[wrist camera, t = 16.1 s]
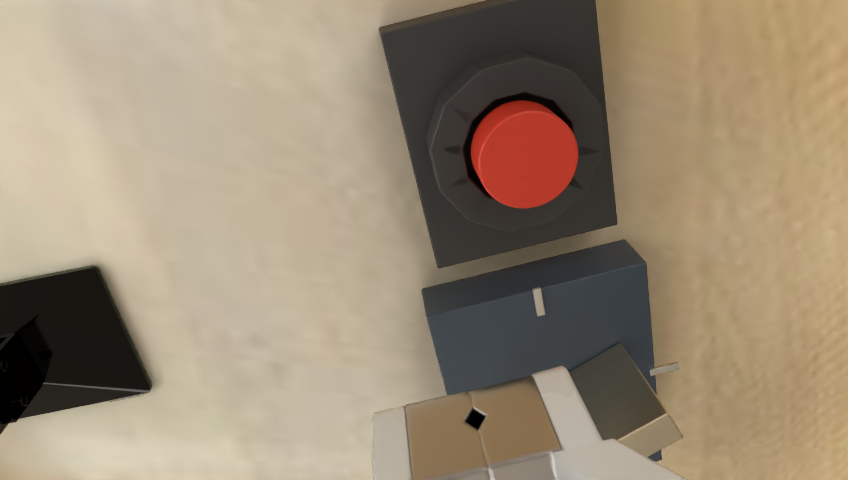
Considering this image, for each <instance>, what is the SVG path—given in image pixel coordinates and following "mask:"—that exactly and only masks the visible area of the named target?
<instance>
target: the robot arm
mask: <svg viewBox="0 0 848 480" xmlns="http://www.w3.org/2000/svg"><path fill="white" fill-rule="evenodd" d="M371 433H372V468H373V480H687V479H685V478H684V477H682V476H680V475H678V474H676V473H675V472H673V471H671V470H669V469H667V468H666V467H664V466H662V465H660V464H658V463H657V462H655V461H653V460H651V459H649V458H648V457H646V456H644V455H642V454H640V453H639V452H637V451H635V450H633V449H631V448H629V447H628V446H626V445H624V444H622V443H620V442H619V441H617V440H615V439H613V438H612V439H608V440H602V438H601V436H600V434H599V432H598V430H597V428H596V426H595V424H594V422H593V420H592V418H591V416H590V414H589V412H588V410H587V408H586V406H585V404H584V402H583V400H582V398H581V396H580V394H579V392H578V390H577V388H576V386H575V384H574V382H573V380H572V378H571V376H570V374H569V372H568V370H567V369H566V368H565V367H564V366H559V367H555V368H551V369H548V370H544V371H540V372H537V373H533V374H531V375H528V376H525V377H521V378H517V379H513V380H509V381H505V382H501V383H497V384H493V385H490V386H486V387H482V388H478V389H474V390H470V391H465V392H461V393H456V394H452V395H448V396H443V397H439V398H434V399H430V400H426V401H421V402H417V403H412V404H408V405H406V406H401V407H397V408H393V409H388V410H384V411H380V412H375V413H373V416H372V419H371Z"/></svg>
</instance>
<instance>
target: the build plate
mask: <svg viewBox="0 0 848 480" xmlns="http://www.w3.org/2000/svg"><path fill="white" fill-rule="evenodd" d="M151 388H152V382H151V380H150V378H149V376H148V374H147V371H146V369H145V367H144V365H143V363H142V360H141V358H140V356H139V354H138V351H137V349H136V347H135V345H134V343H133V340H132V338H131V336H130V334H129V332H128V329H127V327H126V325H125V323H124V321H123V318H122V316H121V314H120V312H119V310H118V307H117V305H116V303H115V301H114V298H113V296H112V294H111V292H110V290H109V287H108V285H107V283H106V281H105V279H104V276H103V274H102V272H101V270H100V268H99V267H98V266H96V265H91V266H86V267H81V268H76V269H71V270H66V271H60V272H55V273H50V274H45V275H40V276H35V277H30V278H25V279H20V280H15V281H10V282H5V283H0V435H1V433H2V432H3V431H4V429H5V428H6V426H7V425H8V424H9V423H13V422H16V421H17V420H18V419H20V418H25V417H30V416H35V415H40V414H45V413H50V412H55V411H60V410H65V409H69V408H74V407H79V406H84V405H89V404H94V403H99V402H104V401H109V402H112V401H117V400H122V399H127V398H132V397H137V396H141V395H143V394H144V393H148V392H150V390H151Z"/></svg>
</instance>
